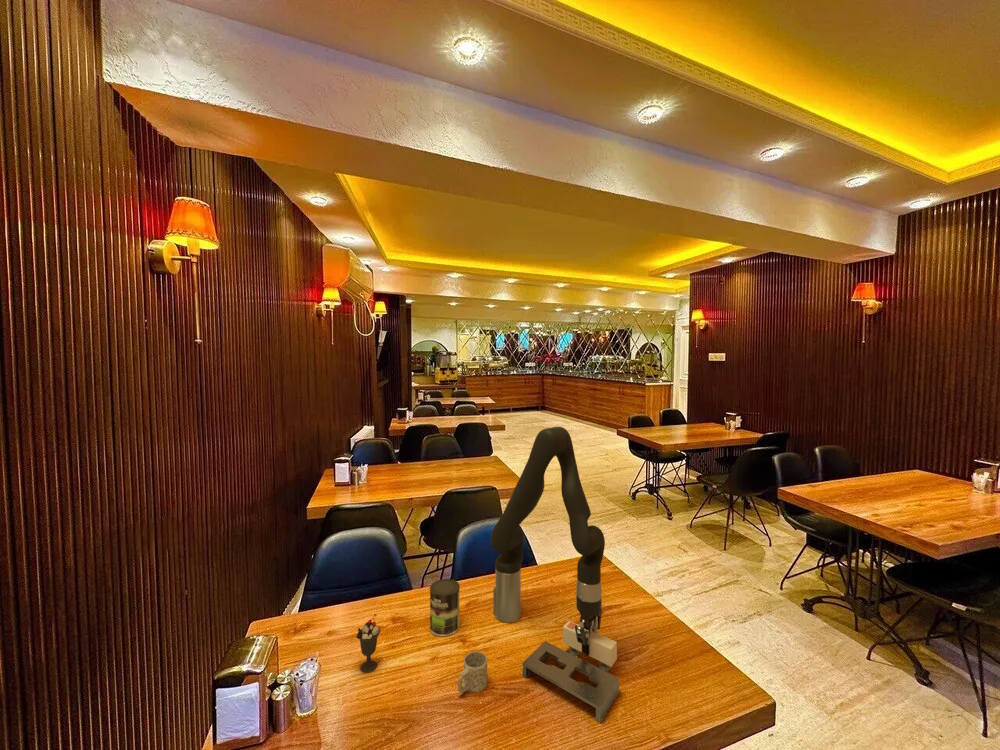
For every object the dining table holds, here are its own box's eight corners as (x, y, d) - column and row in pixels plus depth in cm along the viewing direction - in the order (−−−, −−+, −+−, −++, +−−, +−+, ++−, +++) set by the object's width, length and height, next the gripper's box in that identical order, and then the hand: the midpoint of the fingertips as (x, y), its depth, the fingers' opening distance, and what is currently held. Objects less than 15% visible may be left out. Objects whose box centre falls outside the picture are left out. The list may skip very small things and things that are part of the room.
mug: (474, 670, 115) (474, 648, 115) (492, 681, 111) (492, 658, 111) (450, 691, 107) (450, 667, 107) (467, 704, 103) (467, 679, 103)
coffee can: (450, 640, 128) (450, 597, 128) (423, 632, 132) (423, 590, 132) (465, 621, 138) (464, 581, 138) (439, 615, 142) (439, 576, 142)
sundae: (385, 661, 119) (385, 612, 119) (370, 677, 112) (370, 625, 112) (367, 656, 121) (366, 608, 121) (352, 671, 114) (352, 620, 115)
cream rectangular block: (562, 652, 122) (562, 625, 122) (569, 645, 126) (569, 619, 126) (611, 677, 112) (611, 648, 112) (616, 669, 115) (616, 640, 115)
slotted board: (522, 676, 113) (522, 662, 113) (545, 653, 122) (545, 640, 122) (600, 723, 97) (600, 707, 97) (619, 693, 107) (619, 678, 107)
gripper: (588, 580, 127) (588, 633, 127) (566, 599, 116) (566, 657, 116) (610, 588, 122) (610, 643, 122) (589, 609, 111) (589, 669, 111)
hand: (589, 649), depth 119 cm, fingers closed on cream rectangular block, 4 cm apart
